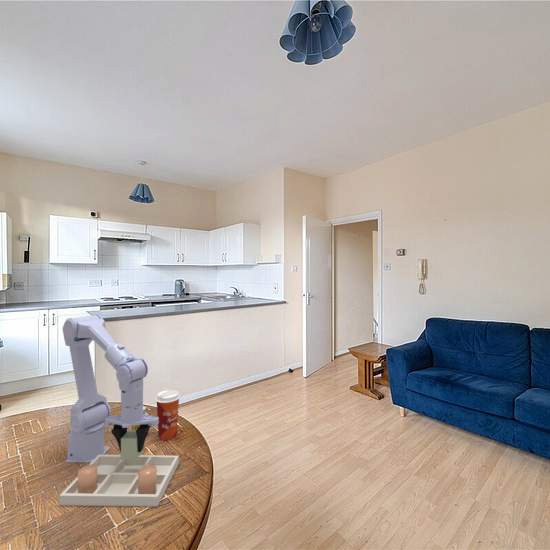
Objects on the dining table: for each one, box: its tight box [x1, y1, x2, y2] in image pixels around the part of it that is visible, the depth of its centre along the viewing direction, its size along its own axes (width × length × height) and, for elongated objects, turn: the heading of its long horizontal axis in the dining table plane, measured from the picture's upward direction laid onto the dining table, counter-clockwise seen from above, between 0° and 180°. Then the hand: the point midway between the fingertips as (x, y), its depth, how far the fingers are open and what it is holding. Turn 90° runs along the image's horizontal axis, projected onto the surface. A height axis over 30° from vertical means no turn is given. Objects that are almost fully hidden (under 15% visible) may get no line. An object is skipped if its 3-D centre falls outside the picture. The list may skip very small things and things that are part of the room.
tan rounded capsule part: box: [138, 465, 157, 494], centre depth 78 cm, size 4×4×6 cm
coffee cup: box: [155, 389, 181, 441], centre depth 106 cm, size 8×8×15 cm
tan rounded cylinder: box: [77, 464, 98, 494], centre depth 78 cm, size 4×4×6 cm
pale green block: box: [120, 429, 144, 460], centre depth 86 cm, size 4×4×6 cm
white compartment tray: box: [58, 454, 180, 508], centre depth 82 cm, size 24×16×3 cm
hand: (132, 450), depth 86 cm, fingers closed on pale green block, 4 cm apart
